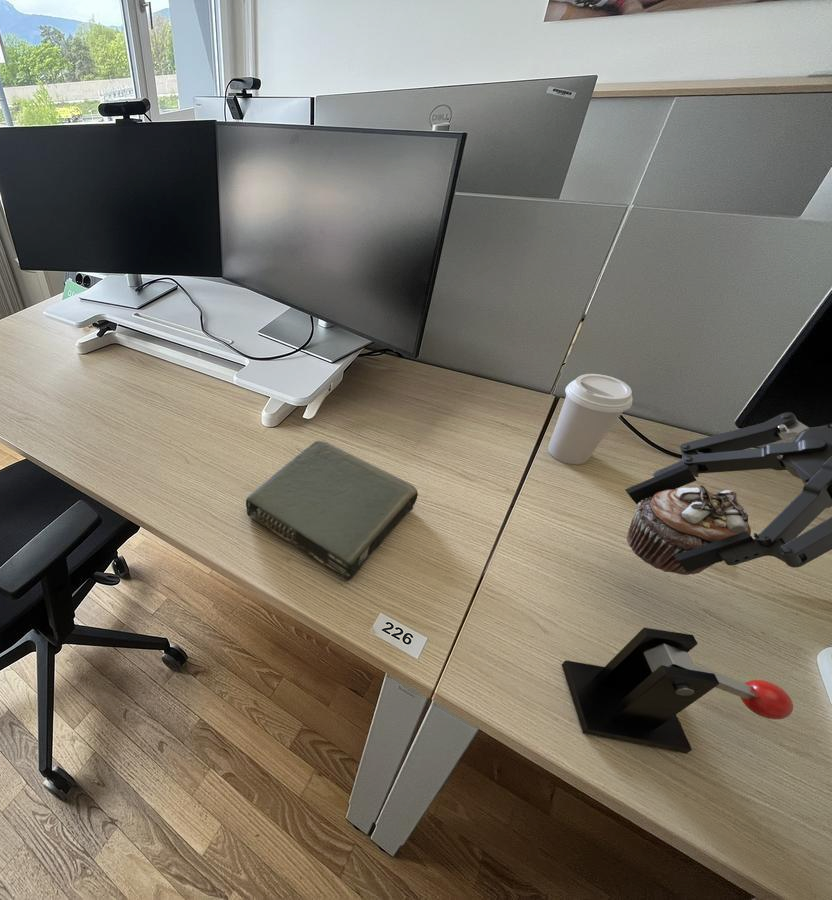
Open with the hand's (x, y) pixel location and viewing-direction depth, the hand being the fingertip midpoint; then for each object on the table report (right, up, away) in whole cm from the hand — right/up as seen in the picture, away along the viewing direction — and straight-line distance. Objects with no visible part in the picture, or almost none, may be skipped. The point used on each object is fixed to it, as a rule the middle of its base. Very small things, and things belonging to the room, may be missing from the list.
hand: (653, 528), depth 56 cm
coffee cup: (+12, +9, +32) cm, 35 cm away
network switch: (-34, -1, +24) cm, 42 cm away
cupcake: (+3, -3, +2) cm, 5 cm away
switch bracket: (-6, -21, -2) cm, 21 cm away
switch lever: (-2, -16, -7) cm, 17 cm away
